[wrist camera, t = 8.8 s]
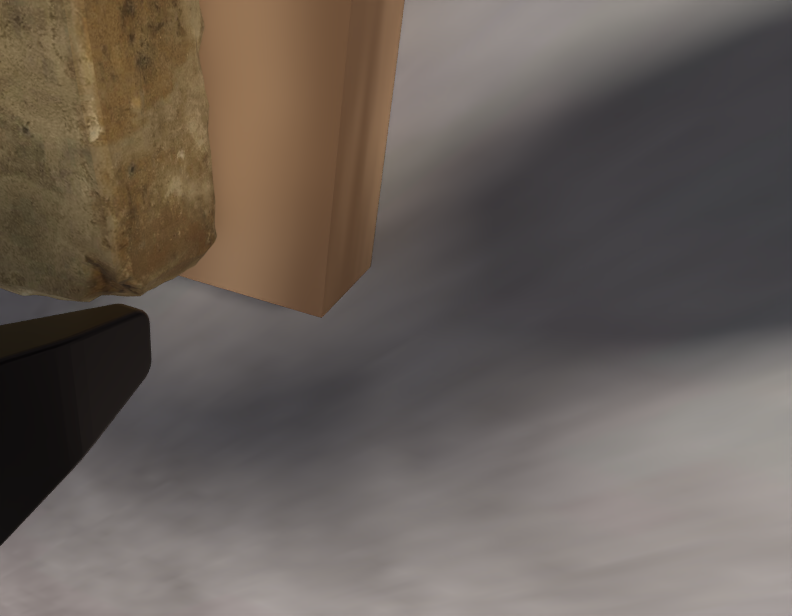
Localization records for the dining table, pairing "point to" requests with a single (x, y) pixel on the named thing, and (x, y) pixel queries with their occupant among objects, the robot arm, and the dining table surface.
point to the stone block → (102, 146)
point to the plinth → (296, 143)
